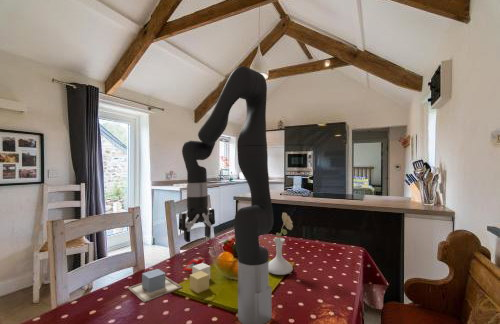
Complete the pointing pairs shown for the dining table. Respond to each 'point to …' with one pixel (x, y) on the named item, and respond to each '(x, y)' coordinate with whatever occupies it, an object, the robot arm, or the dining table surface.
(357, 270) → the dining table surface
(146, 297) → the build plate
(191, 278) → the ochre brick
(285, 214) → the flower in vase
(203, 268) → the cream brick
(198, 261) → the race car
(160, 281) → the base brick
